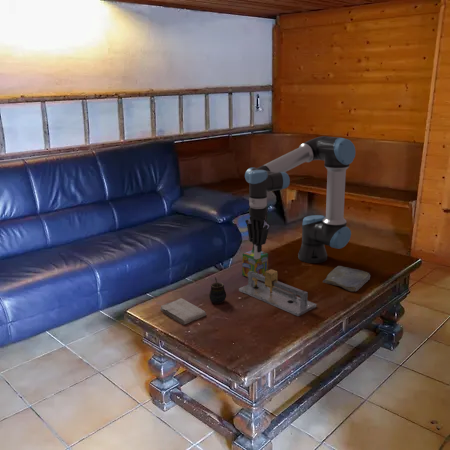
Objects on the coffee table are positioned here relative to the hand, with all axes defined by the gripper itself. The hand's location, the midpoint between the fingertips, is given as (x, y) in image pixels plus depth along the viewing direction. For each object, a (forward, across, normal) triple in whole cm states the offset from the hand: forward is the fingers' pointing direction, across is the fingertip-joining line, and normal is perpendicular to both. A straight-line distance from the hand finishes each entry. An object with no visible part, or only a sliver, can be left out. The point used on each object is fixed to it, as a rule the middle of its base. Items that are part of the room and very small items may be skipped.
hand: (257, 258), depth 208 cm
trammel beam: (+16, +11, 0) cm, 19 cm away
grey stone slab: (+16, +22, +38) cm, 46 cm away
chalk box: (+16, -13, +12) cm, 24 cm away
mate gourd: (+16, -5, -20) cm, 26 cm away
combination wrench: (+16, +11, +5) cm, 20 cm away
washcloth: (+17, -8, -37) cm, 41 cm away
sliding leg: (+14, +8, 0) cm, 16 cm away
